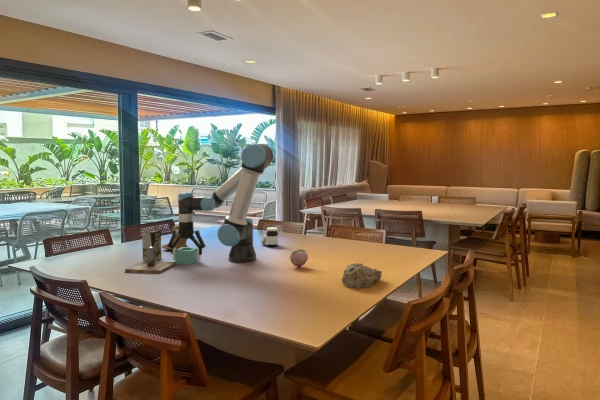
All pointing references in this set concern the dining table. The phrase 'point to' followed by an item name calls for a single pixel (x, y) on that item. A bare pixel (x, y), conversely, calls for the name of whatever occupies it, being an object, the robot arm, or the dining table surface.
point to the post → (151, 256)
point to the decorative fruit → (299, 257)
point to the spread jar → (270, 237)
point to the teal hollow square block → (186, 255)
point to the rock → (360, 276)
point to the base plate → (150, 267)
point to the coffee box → (152, 243)
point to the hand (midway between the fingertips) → (186, 260)
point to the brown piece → (180, 244)
